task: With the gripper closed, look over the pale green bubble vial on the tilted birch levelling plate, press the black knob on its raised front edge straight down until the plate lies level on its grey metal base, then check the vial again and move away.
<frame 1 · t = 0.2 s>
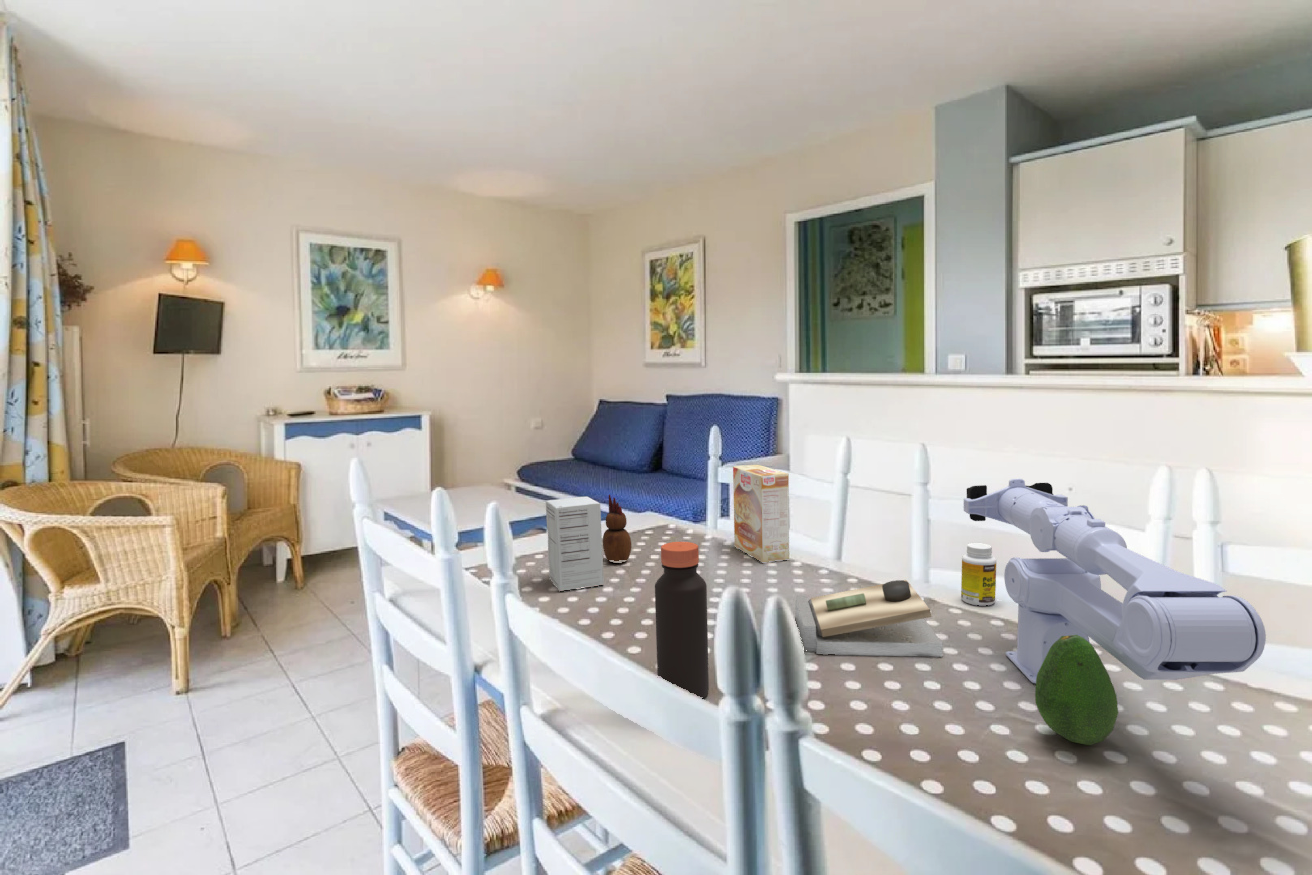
hand: (993, 492, 114), 21 cm above the table, tool horizontal, fingers open, 7 cm apart
avocado: (1075, 740, 78), on the table
wooden figurine: (617, 562, 155), on the table
vinegar: (683, 694, 92), on the table
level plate: (863, 601, 109), point 5 cm above the table, hinge at 12.0°
coffeecake box: (760, 554, 158), on the table
level base: (868, 634, 110), on the table
supplement box: (576, 583, 141), on the table
supplement bottle: (978, 602, 123), on the table
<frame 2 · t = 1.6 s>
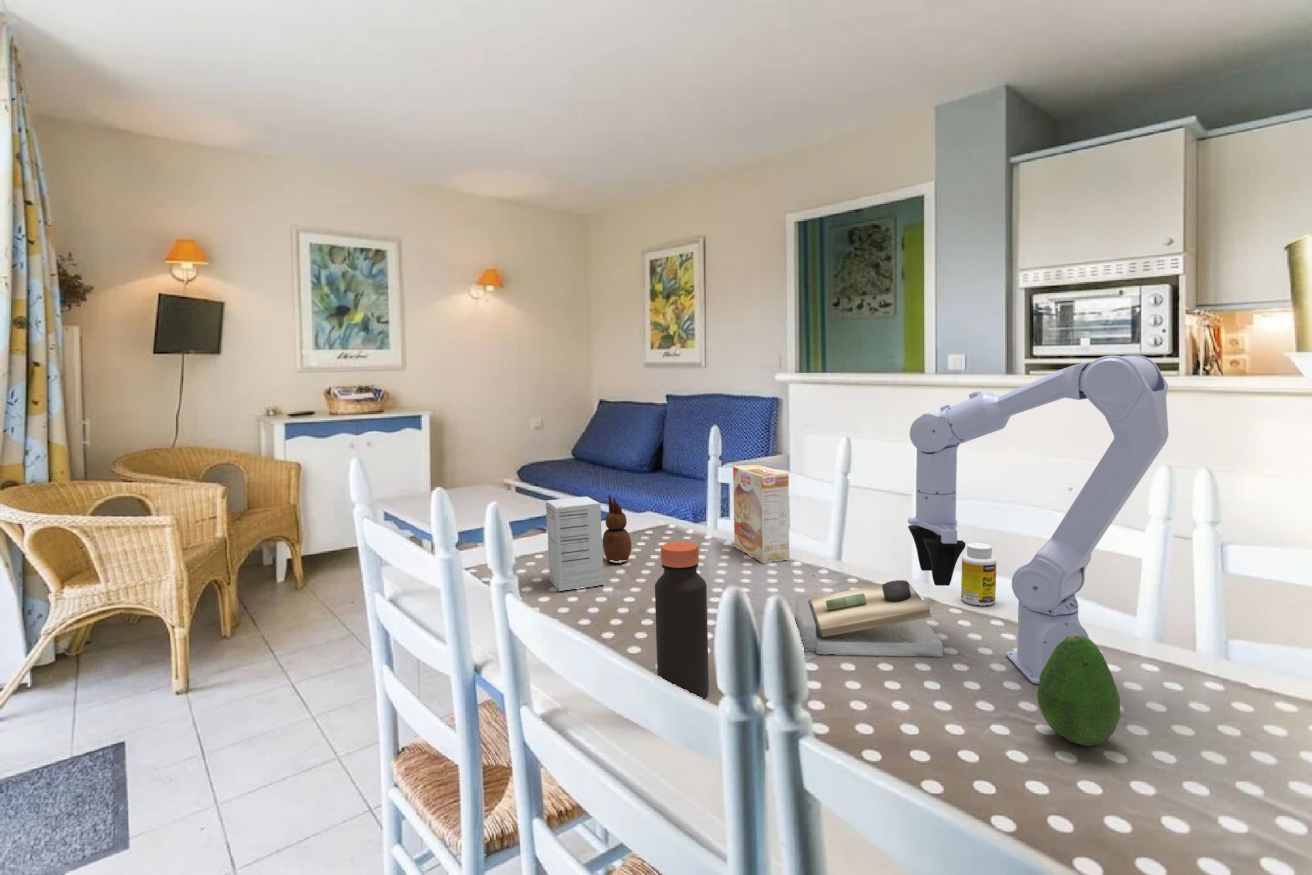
hand: (934, 577, 108), 9 cm above the table, tool pointing down, fingers open, 7 cm apart
nothing on the table moved.
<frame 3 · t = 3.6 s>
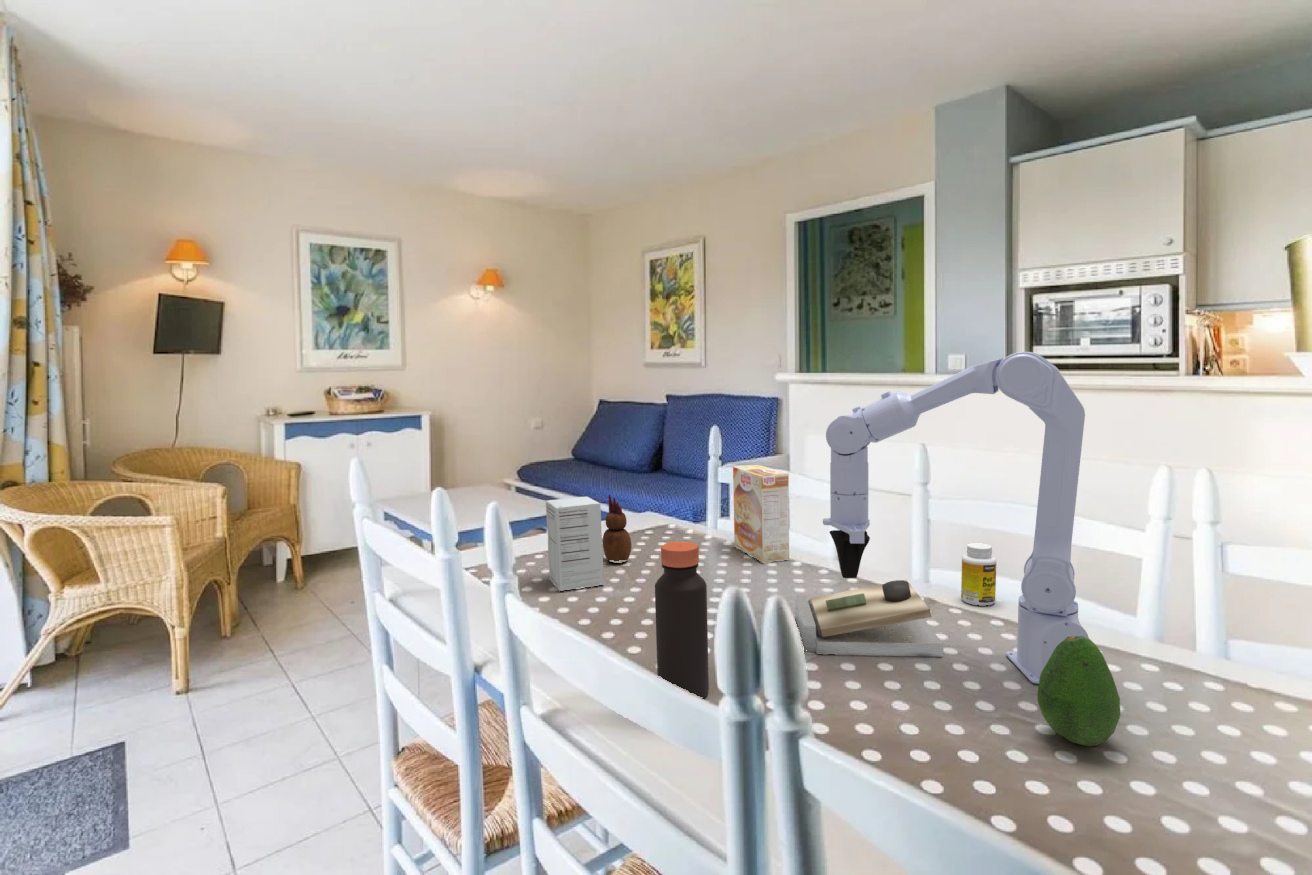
hand: (849, 576, 109), 9 cm above the table, tool pointing down, fingers closed
nothing on the table moved.
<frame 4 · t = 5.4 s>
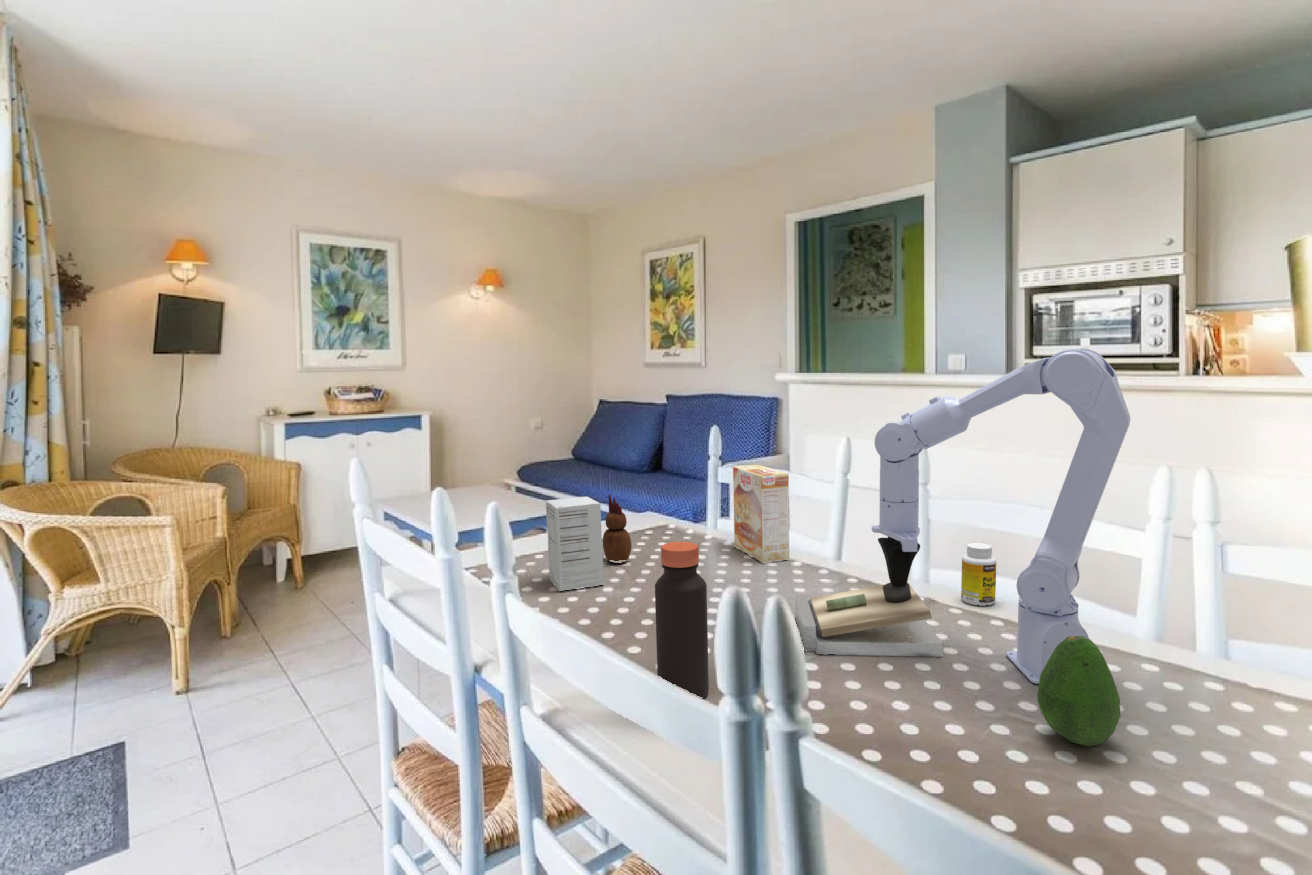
hand: (898, 584, 109), 8 cm above the table, tool pointing down, fingers closed, pressing on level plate
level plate: (863, 601, 109), point 5 cm above the table, hinge at 11.2°, touching gripper
everything else where it was.
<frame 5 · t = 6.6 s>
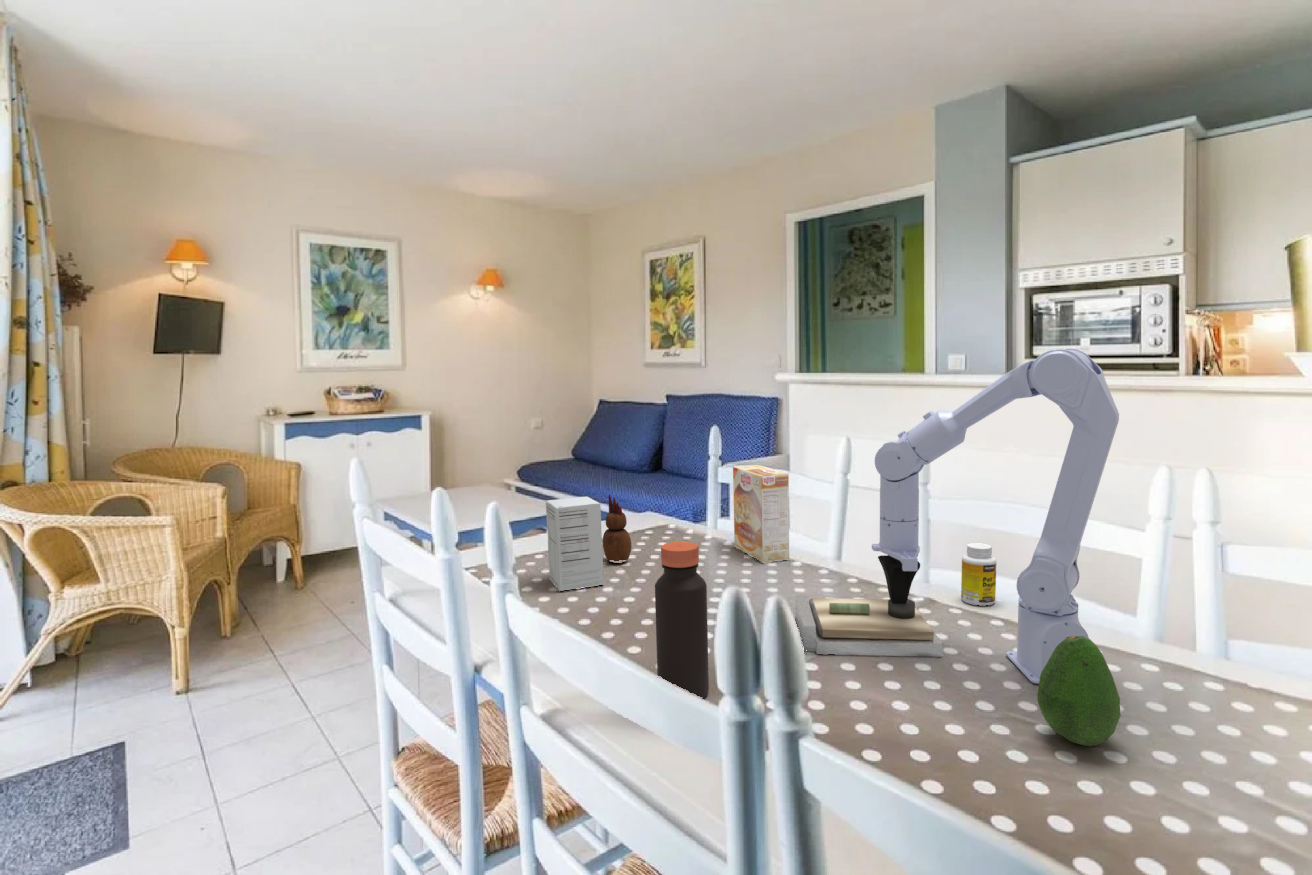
hand: (898, 602, 109), 5 cm above the table, tool pointing down, fingers closed, pressing on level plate
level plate: (866, 611, 110), point 4 cm above the table, hinge at -0.6°, touching gripper
everything else where it was.
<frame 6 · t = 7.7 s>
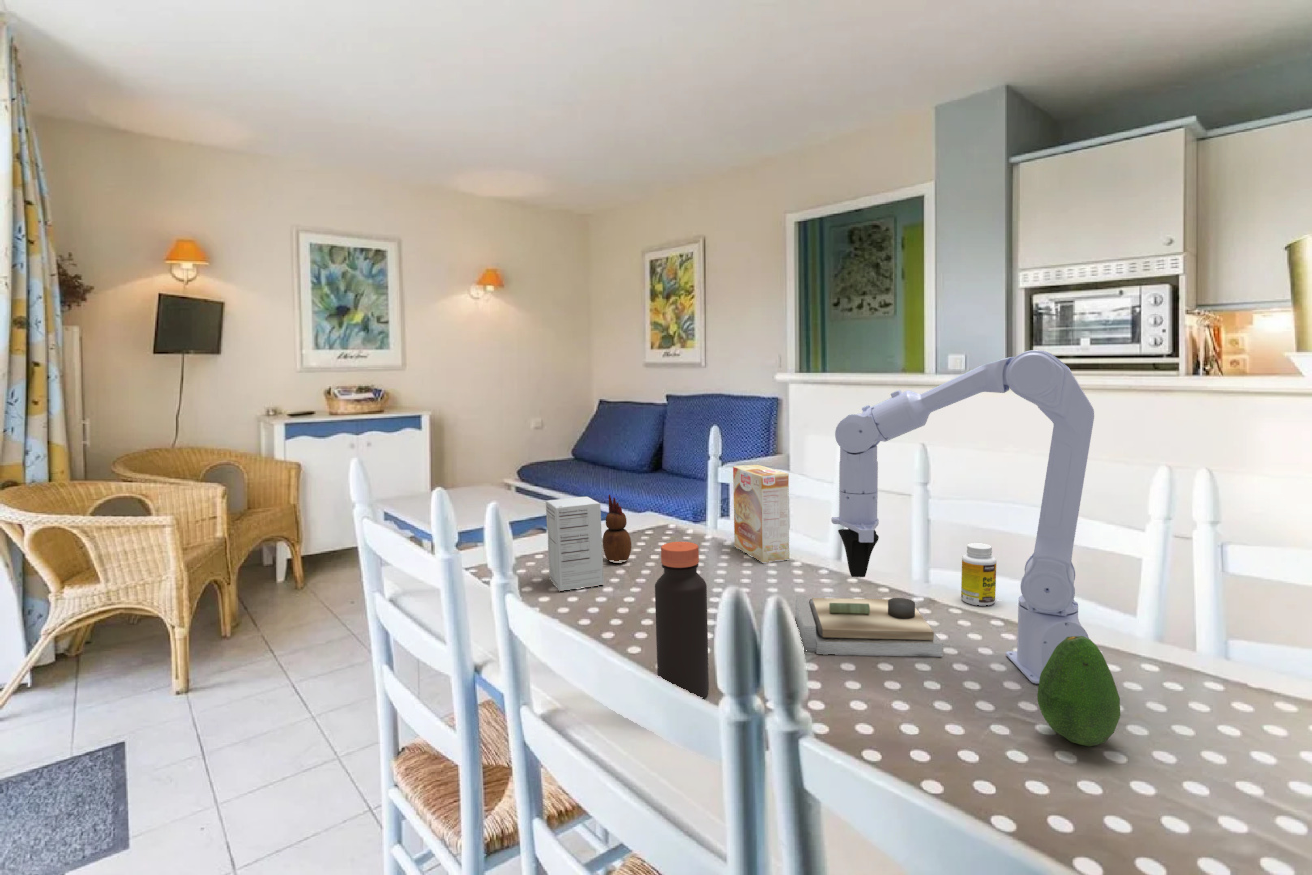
hand: (857, 575, 109), 10 cm above the table, tool pointing down, fingers closed
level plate: (866, 611, 110), point 4 cm above the table, hinge at -0.6°
everything else where it was.
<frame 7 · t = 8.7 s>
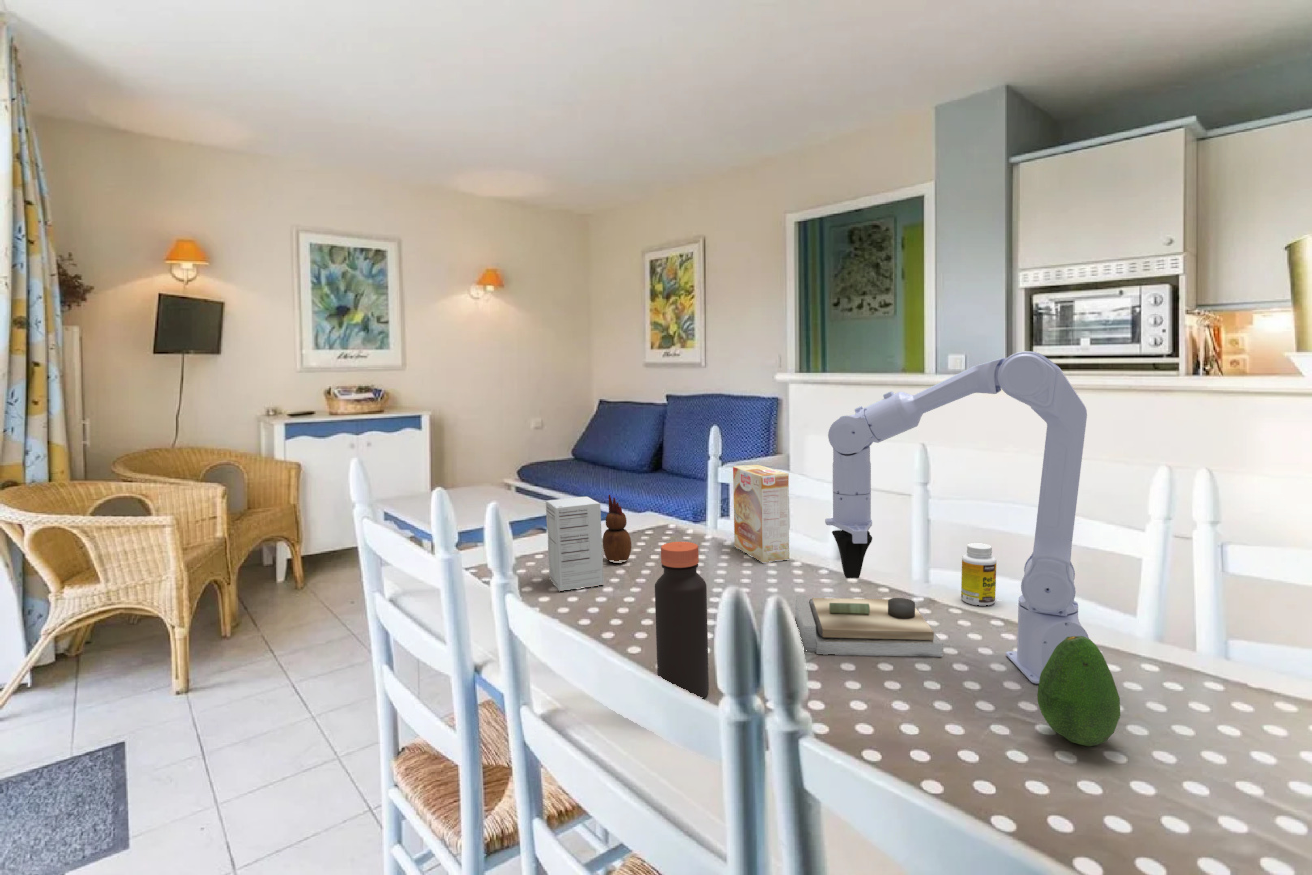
hand: (851, 576, 109), 9 cm above the table, tool pointing down, fingers closed
nothing on the table moved.
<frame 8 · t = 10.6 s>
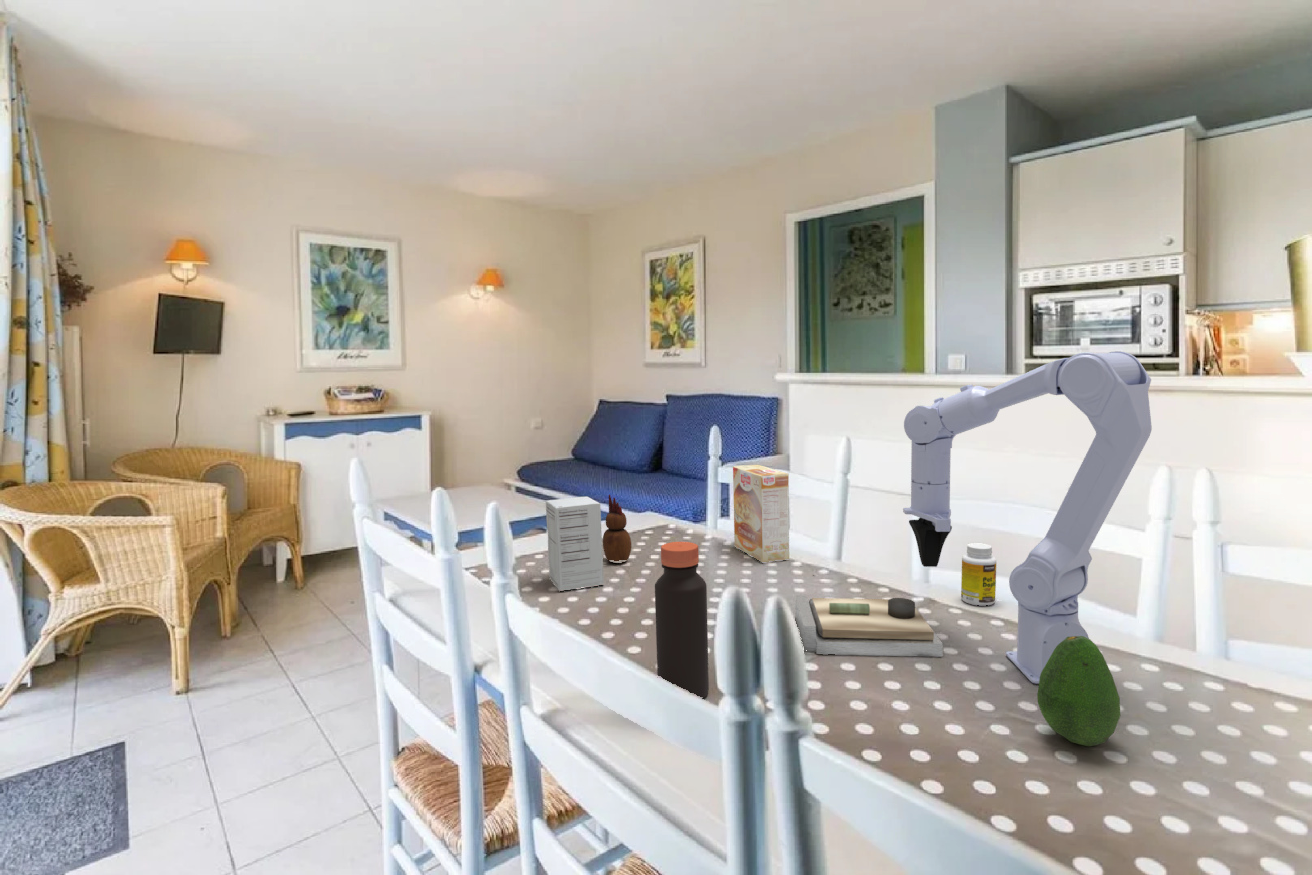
hand: (929, 565, 111), 10 cm above the table, tool pointing down, fingers closed
nothing on the table moved.
at the end: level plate at -1° (first picture: +12°) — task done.
